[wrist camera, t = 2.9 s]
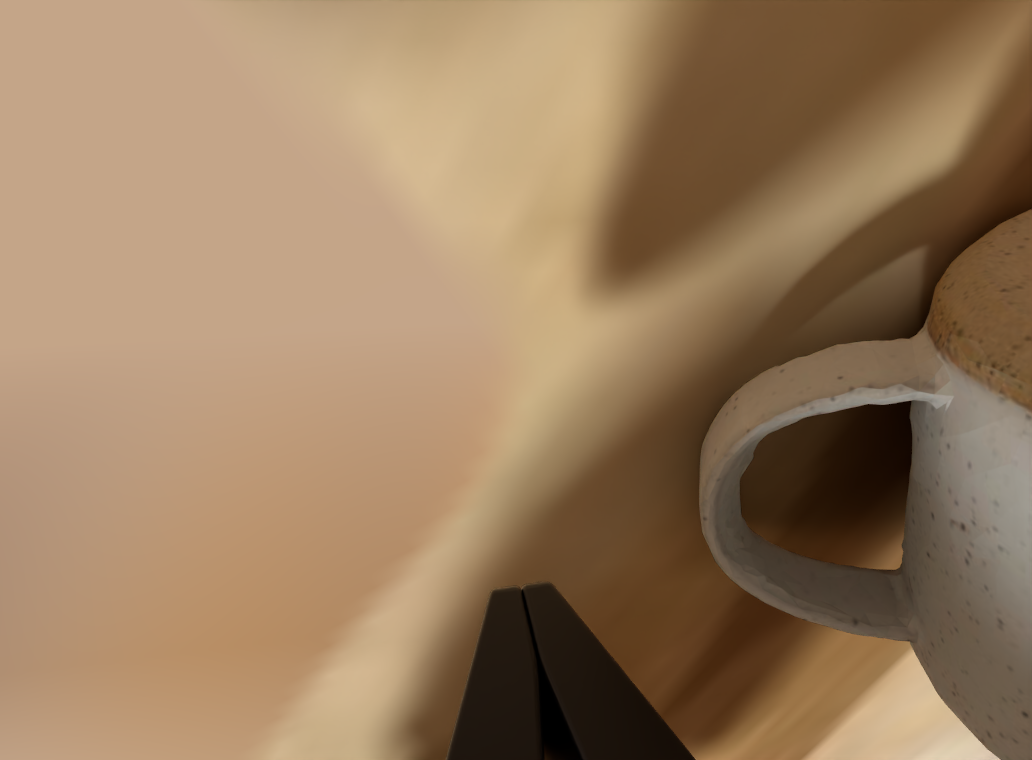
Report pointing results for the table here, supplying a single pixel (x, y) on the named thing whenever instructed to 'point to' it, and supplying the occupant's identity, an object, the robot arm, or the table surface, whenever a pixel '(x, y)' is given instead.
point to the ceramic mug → (918, 489)
